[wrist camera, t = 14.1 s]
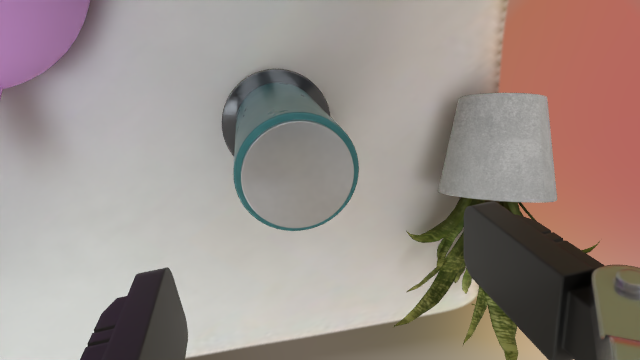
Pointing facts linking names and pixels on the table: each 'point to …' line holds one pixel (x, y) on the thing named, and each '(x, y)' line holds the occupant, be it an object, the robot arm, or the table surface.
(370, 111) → the table surface
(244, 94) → the coaster
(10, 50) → the teapot
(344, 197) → the can
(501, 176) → the house plant
